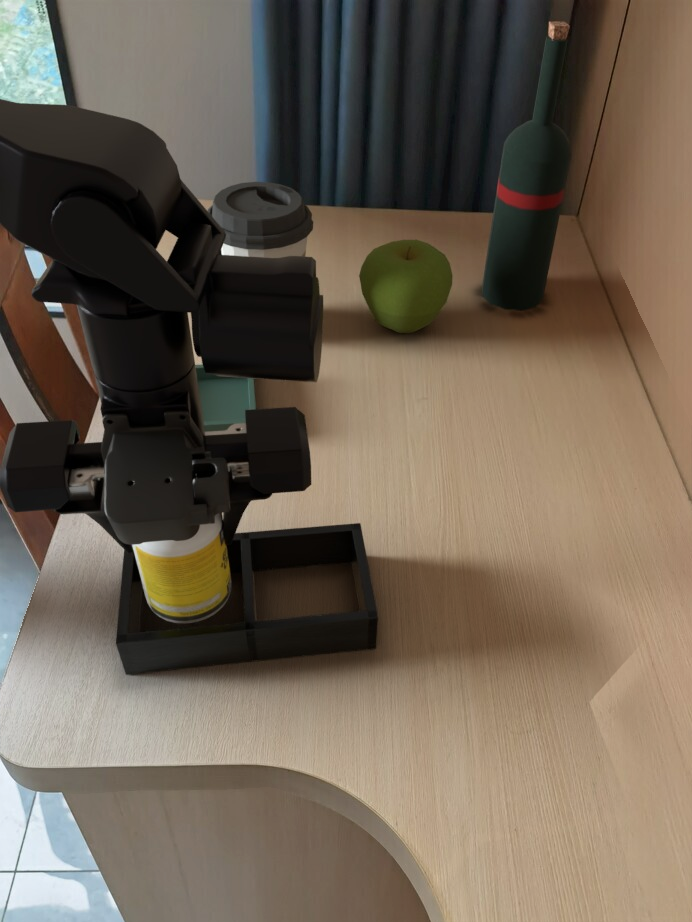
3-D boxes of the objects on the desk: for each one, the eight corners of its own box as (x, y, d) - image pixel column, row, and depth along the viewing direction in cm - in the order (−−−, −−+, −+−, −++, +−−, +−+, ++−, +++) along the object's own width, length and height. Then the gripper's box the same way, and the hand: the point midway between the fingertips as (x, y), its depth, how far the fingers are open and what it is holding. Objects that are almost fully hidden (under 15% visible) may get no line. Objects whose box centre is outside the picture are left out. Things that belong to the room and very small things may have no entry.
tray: (152, 444, 78) (148, 428, 76) (156, 382, 85) (153, 366, 83) (258, 437, 79) (257, 422, 78) (253, 377, 86) (252, 361, 85)
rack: (125, 675, 59) (115, 643, 56) (133, 574, 66) (124, 541, 63) (376, 648, 62) (378, 617, 59) (359, 555, 69) (360, 522, 66)
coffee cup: (335, 328, 94) (336, 202, 83) (260, 366, 87) (251, 236, 77) (271, 290, 99) (264, 168, 88) (196, 324, 93) (179, 197, 82)
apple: (385, 292, 100) (389, 215, 93) (462, 316, 97) (472, 238, 90) (341, 332, 93) (342, 252, 86) (422, 360, 90) (429, 279, 83)
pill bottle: (235, 621, 60) (220, 511, 51) (146, 633, 58) (116, 522, 50) (229, 557, 64) (215, 446, 56) (146, 566, 63) (119, 455, 55)
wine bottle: (526, 268, 106) (574, 7, 85) (551, 308, 99) (611, 35, 78) (469, 271, 105) (503, 7, 83) (490, 312, 98) (534, 35, 76)
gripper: (-59, 466, 39) (26, 650, 50) (319, 441, 42) (321, 621, 53) (-17, 340, 47) (49, 524, 58) (300, 326, 50) (305, 504, 61)
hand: (179, 544), depth 57 cm, fingers closed on pill bottle, 6 cm apart
